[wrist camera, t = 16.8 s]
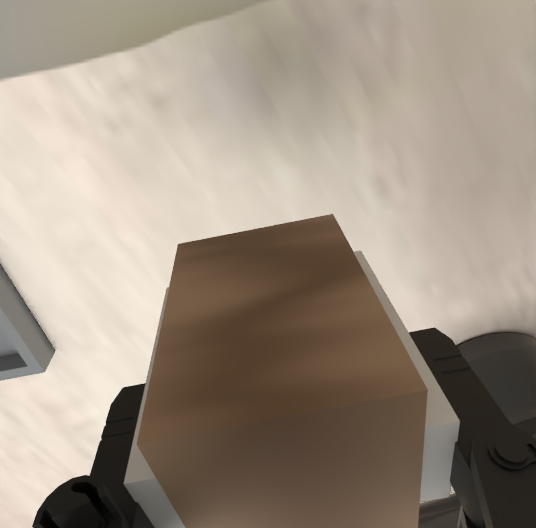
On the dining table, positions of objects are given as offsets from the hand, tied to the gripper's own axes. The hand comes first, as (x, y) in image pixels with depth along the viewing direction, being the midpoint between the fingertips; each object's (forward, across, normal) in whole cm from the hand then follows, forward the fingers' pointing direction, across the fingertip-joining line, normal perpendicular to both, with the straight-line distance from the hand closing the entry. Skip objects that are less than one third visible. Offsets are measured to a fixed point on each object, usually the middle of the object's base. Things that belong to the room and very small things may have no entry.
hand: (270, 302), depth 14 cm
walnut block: (0, 0, 0) cm, 0 cm away
